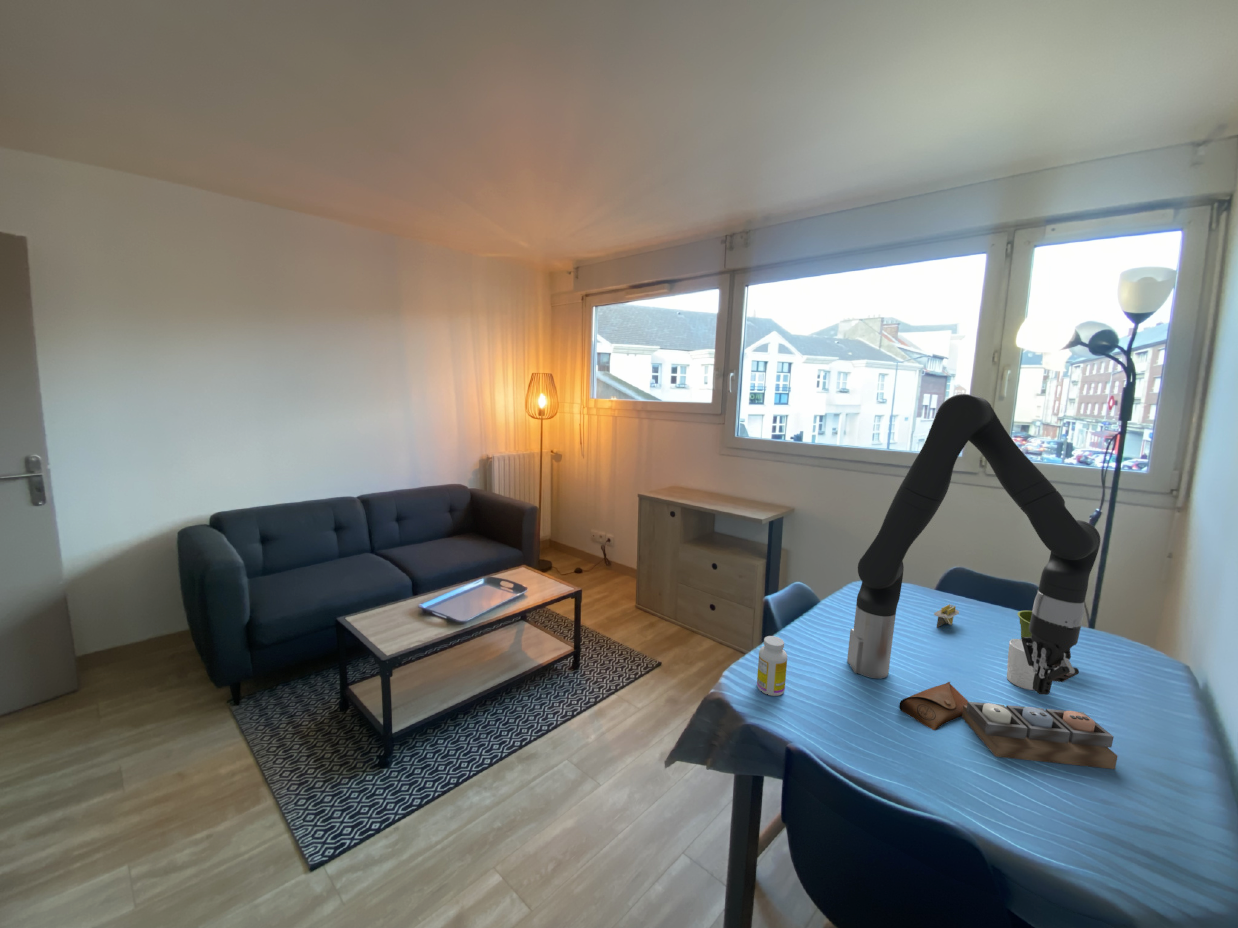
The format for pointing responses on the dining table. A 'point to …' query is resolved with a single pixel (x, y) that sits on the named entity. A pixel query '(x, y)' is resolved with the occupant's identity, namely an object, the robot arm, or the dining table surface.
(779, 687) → the supplement bottle
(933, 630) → the dining table surface
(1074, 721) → the button three
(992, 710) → the button one
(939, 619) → the platform
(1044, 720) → the button two
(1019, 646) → the white cup
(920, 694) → the sunglasses case
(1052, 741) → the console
